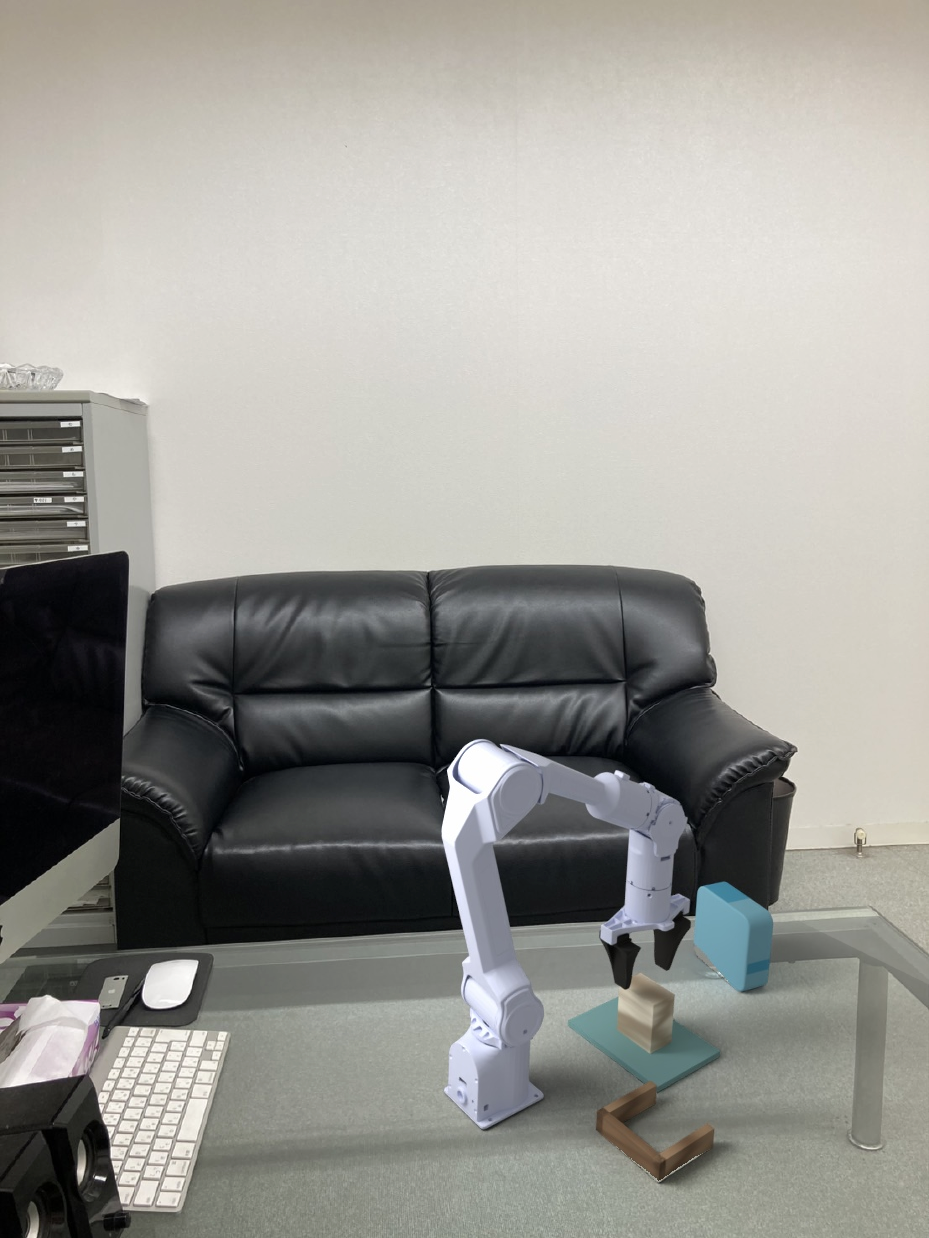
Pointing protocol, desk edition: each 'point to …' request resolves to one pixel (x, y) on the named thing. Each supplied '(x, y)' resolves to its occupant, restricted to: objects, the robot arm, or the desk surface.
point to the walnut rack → (640, 1151)
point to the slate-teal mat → (656, 1067)
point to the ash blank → (646, 1013)
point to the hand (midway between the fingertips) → (642, 975)
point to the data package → (734, 935)
